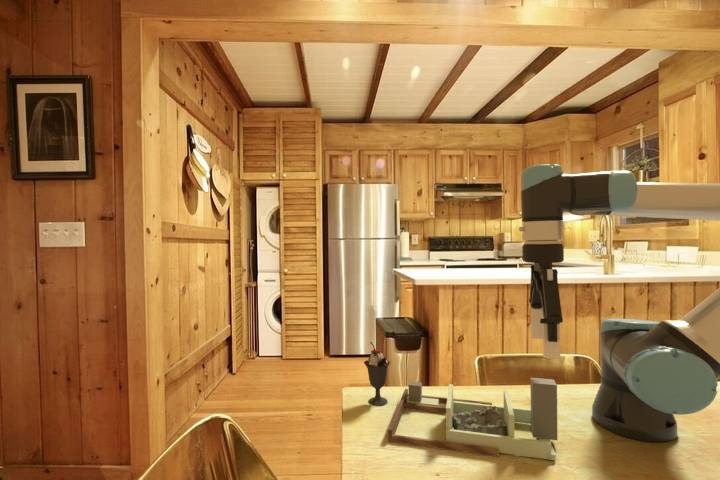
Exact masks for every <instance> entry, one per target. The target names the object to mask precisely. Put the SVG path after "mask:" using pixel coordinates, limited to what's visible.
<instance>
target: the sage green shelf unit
mask: <svg viewBox="0 0 720 480" xmlns="http://www.w3.org/2000/svg"><path fill="white" fill-rule="evenodd" d="M529 382H530V408H525V407H524V408H523V407H513V404H512V401H511V396H510V393H509V389H506V388H503V405H495V404H494V405H493V404H492V405H486V404H477V403H467V402H458V401H453V399H454V384H452V383H449V384H448V389H447V391H448V392H447V397H446V398H447V405H446V413H445V419H446V420H445V421H446V422H445V438H446V439H445V442H452V443H460V444H467V445H474V446H482V447H489V448H497V449H498V450H499V454H500V453H501V454H505V455H506V454H508V455H516V456H521V457H529V458H536V459H545V460H552V461H557V455H556V452H555V450H554V447H553V445H552V442H551V441H558V384H557V383H556V381H555V380H554V378H553V379H551V378H539V377H538V378H537V377H530V381H529ZM486 406H487V407H489V406H492V407H493V406H496V407H495V408H496V409H497V411H498V412H499V413H500V416H501V419H504V421H505V423H507V427H506V436H501V435H494V434H486V433H478V432H470V431H462V430H454V429H453V417H452V415H453V414H455V413H456V414H460V413H462V412H471V411H474V410H481V409H482V407H486ZM515 423H518V424H525V425H526V424H528V425H530V431H531V435H532V438H535V439H532V438H523V437H516V435H515Z"/></svg>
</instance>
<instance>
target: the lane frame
mask: <svg viewBox="0 0 720 480" xmlns="http://www.w3.org/2000/svg"><path fill="white" fill-rule="evenodd" d="M408 396H409V389H408V388H405V389H404V390H403V393H402V395H401V398H400V400H399V402H398V404H397V407H396V409H395V411H394V414H393V418H392V419H391V421H390V424H389V426H388V429H387V441H388V442H392V443H398V444H407V445H414V446H420V447H426V448H435V449H440V450H441V449H443V450H448V451H454V452H455V451H456V452H463V453H470V454H478V455H484V456H489V457H497V458H498V457H499V455H500V453H499V450H498V449H497V448H489V447H482V446H474V445H467V444H460V443H452V442H446V440H445V441H444V440H437V439H431V438H430V439H429V438H421V437H414V436H407V435H399V434H396V433H397V429H398V427H399V424H400V422H401V419H402V417H403V414H404V411H405V410H413V411H421V412H432V413H438V414H439V413H441V414H446V405H447V397H443V396H442V397H441V396H432V395H423V394H422V397H423V398H432V399H439V405H438V406H430V405H421V404H412V403H406V401H407V399H408ZM453 401H461V402H470V403H480V404H486V405H493V402H491V401H479V400H470V399H461V398H453Z"/></svg>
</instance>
